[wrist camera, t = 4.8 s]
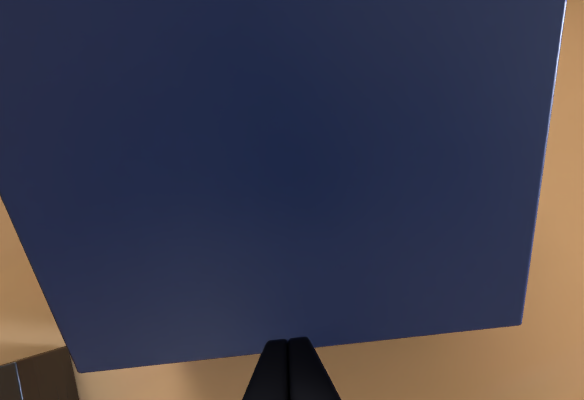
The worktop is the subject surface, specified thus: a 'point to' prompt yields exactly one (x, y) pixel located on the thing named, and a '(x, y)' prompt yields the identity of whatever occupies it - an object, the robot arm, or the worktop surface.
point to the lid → (274, 168)
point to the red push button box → (39, 377)
